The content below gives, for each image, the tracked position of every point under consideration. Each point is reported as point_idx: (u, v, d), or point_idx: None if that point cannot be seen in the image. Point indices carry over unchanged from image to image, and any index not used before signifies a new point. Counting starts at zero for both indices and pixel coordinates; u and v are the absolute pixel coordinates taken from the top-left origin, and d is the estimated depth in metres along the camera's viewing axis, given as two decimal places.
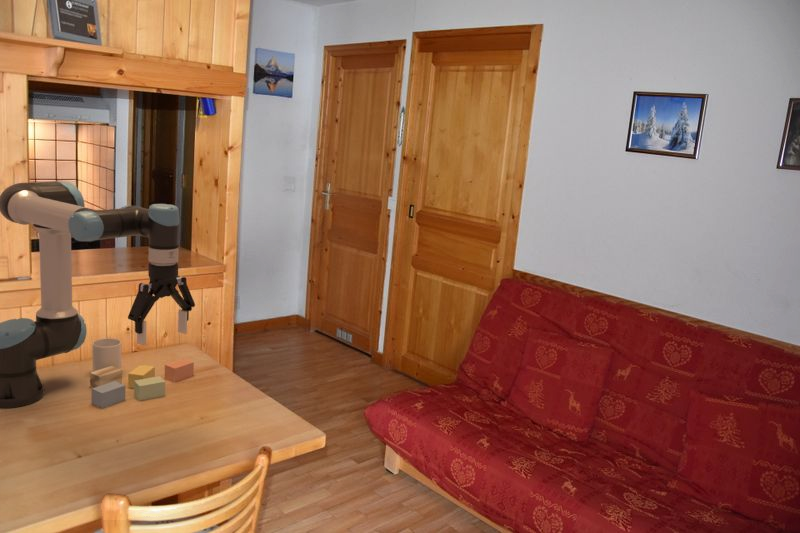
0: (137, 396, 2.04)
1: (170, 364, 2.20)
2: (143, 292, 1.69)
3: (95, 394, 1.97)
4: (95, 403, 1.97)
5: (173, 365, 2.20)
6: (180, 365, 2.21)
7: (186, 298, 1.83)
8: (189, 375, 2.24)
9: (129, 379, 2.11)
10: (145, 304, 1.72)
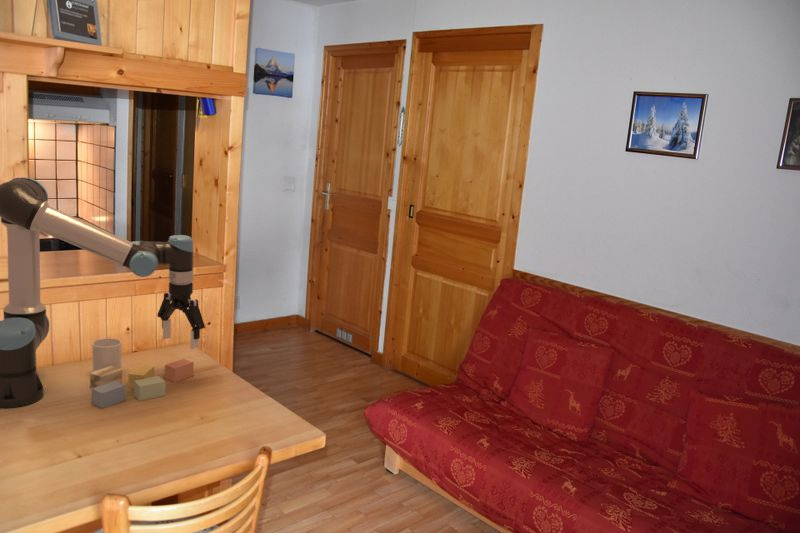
0: (137, 396, 2.04)
1: (170, 364, 2.20)
2: None
3: (95, 393, 1.97)
4: (95, 403, 1.97)
5: (173, 365, 2.20)
6: (180, 365, 2.21)
7: None
8: (189, 375, 2.24)
9: (130, 379, 2.11)
10: None
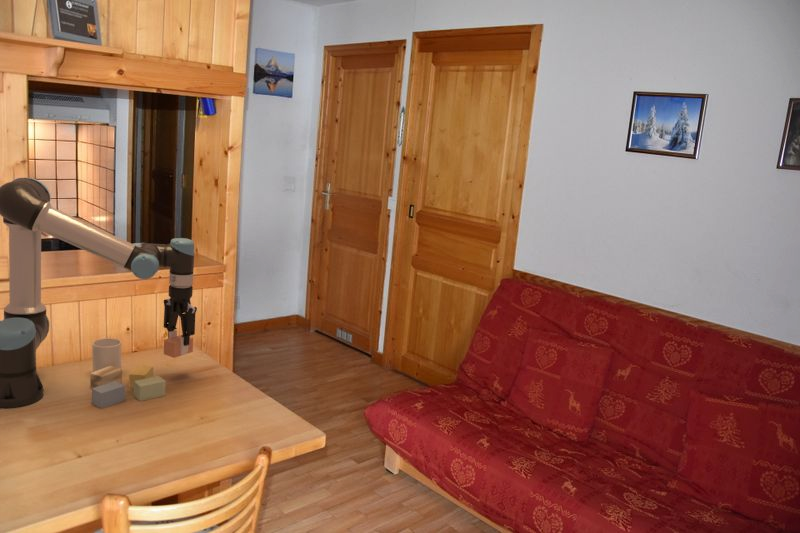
0: (137, 396, 2.04)
1: (169, 340, 2.18)
2: None
3: (95, 393, 1.97)
4: (95, 403, 1.97)
5: (173, 340, 2.18)
6: (180, 340, 2.19)
7: None
8: (188, 351, 2.22)
9: (131, 380, 2.10)
10: None
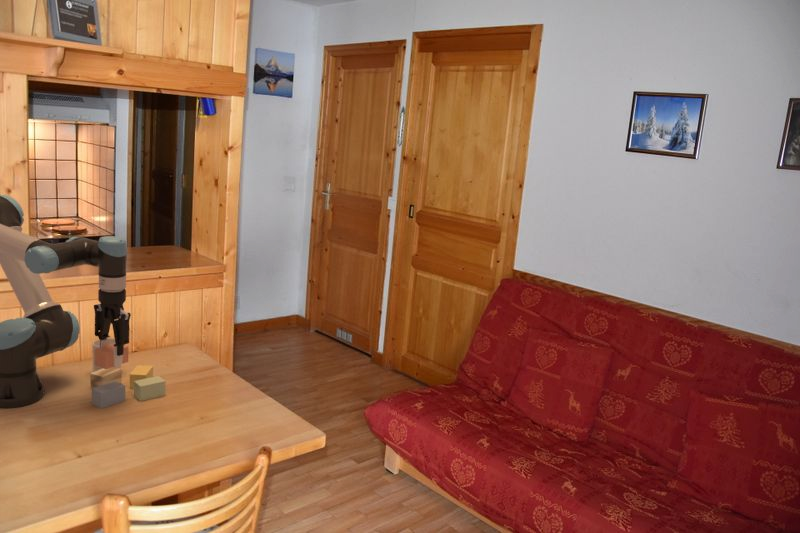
0: (138, 396, 2.04)
1: (101, 349, 1.96)
2: None
3: (95, 393, 1.97)
4: (95, 403, 1.97)
5: (105, 350, 1.96)
6: (112, 350, 1.97)
7: None
8: (123, 361, 2.00)
9: (131, 380, 2.10)
10: None
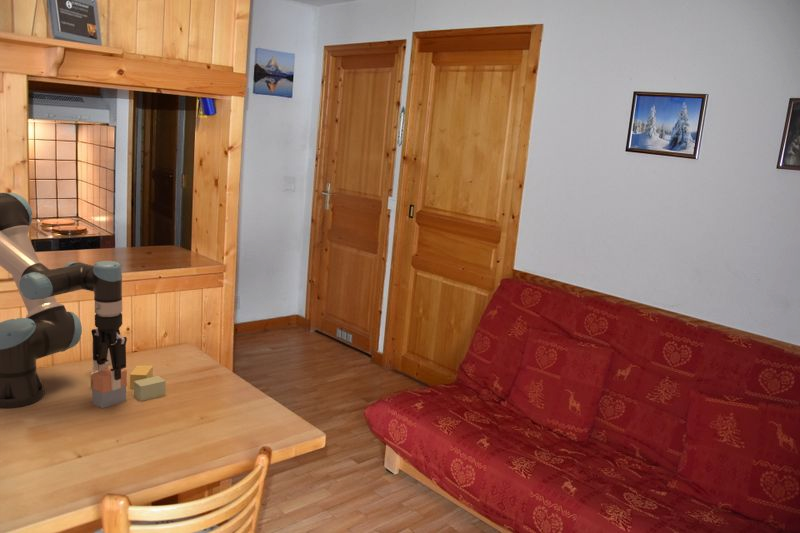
0: (138, 396, 2.04)
1: (99, 373, 1.96)
2: None
3: (95, 393, 1.97)
4: (95, 403, 1.97)
5: (103, 373, 1.96)
6: (110, 374, 1.97)
7: None
8: (121, 385, 2.00)
9: (132, 380, 2.10)
10: None
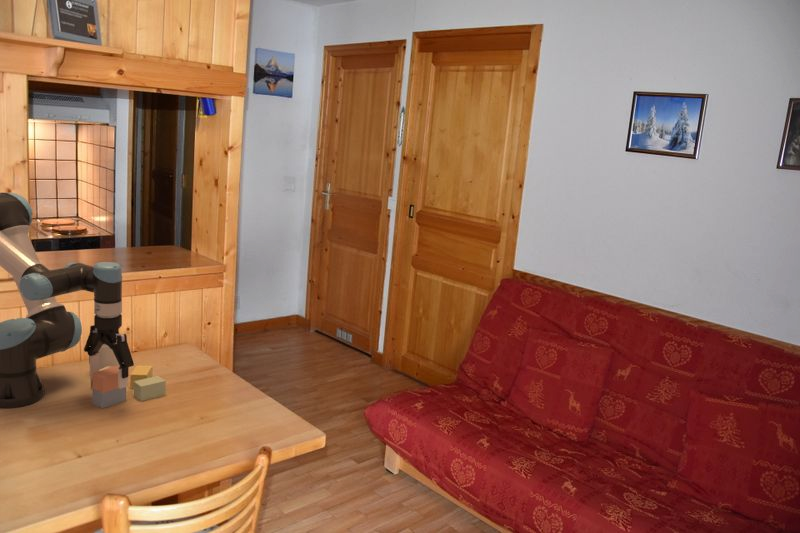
0: (138, 397, 2.04)
1: (98, 373, 1.96)
2: None
3: (95, 393, 1.97)
4: (95, 403, 1.97)
5: (102, 373, 1.96)
6: (110, 373, 1.97)
7: None
8: None
9: (132, 380, 2.10)
10: None
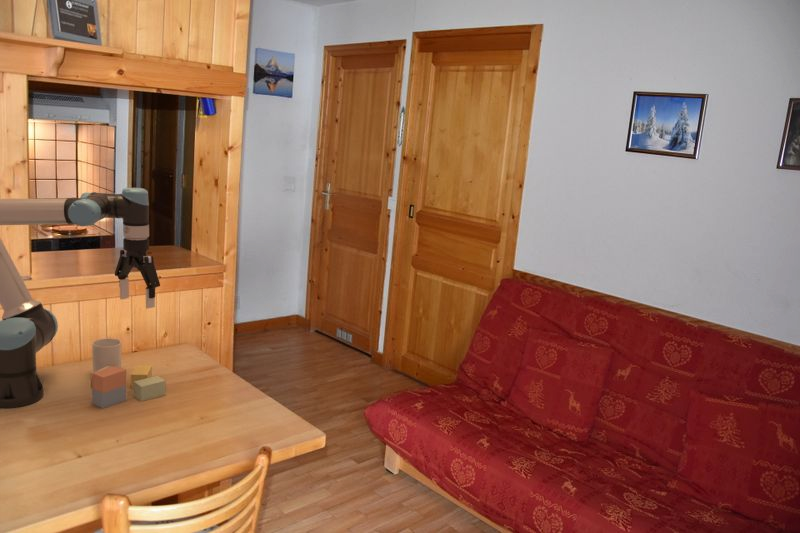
0: (138, 397, 2.04)
1: (98, 373, 1.96)
2: None
3: (95, 393, 1.97)
4: (95, 403, 1.97)
5: (102, 373, 1.96)
6: (110, 373, 1.97)
7: None
8: (121, 384, 2.00)
9: (132, 380, 2.10)
10: None
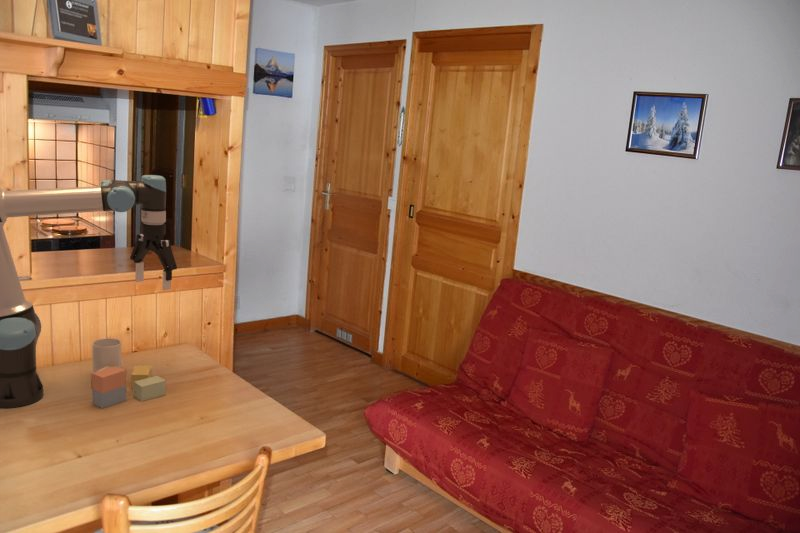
0: (138, 397, 2.04)
1: (98, 373, 1.96)
2: None
3: (95, 393, 1.97)
4: (95, 403, 1.97)
5: (102, 373, 1.96)
6: (109, 373, 1.97)
7: None
8: (121, 385, 2.00)
9: (133, 380, 2.10)
10: None
